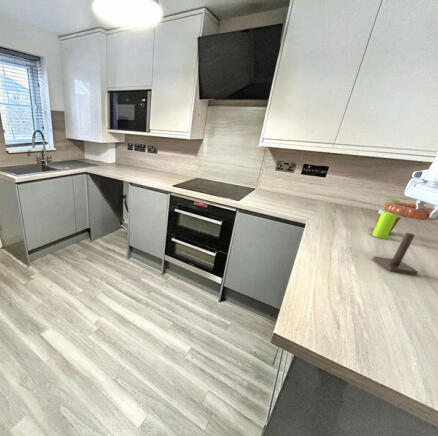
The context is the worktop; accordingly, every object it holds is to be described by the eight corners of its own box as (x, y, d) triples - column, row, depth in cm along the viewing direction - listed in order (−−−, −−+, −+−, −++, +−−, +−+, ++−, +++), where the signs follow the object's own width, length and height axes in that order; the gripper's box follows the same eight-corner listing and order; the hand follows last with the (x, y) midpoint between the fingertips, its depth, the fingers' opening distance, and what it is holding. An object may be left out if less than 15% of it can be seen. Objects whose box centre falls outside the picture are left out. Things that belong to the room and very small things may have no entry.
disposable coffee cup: (397, 236, 124) (408, 215, 119) (375, 233, 127) (384, 212, 122) (387, 230, 132) (397, 210, 128) (367, 227, 135) (375, 207, 131)
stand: (397, 262, 97) (413, 230, 91) (416, 275, 88) (435, 240, 83) (372, 259, 98) (387, 227, 93) (389, 271, 90) (406, 237, 84)
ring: (414, 211, 97) (418, 203, 95) (452, 224, 82) (457, 214, 81) (372, 207, 99) (376, 199, 98) (402, 218, 85) (406, 209, 84)
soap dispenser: (367, 232, 127) (383, 197, 120) (384, 235, 124) (401, 199, 117) (371, 236, 122) (388, 199, 115) (388, 239, 119) (407, 202, 112)
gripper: (491, 184, 70) (465, 227, 75) (428, 173, 88) (411, 207, 93) (466, 182, 71) (442, 224, 76) (409, 171, 89) (393, 205, 94)
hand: (424, 215), depth 85 cm, fingers closed on ring, 3 cm apart
